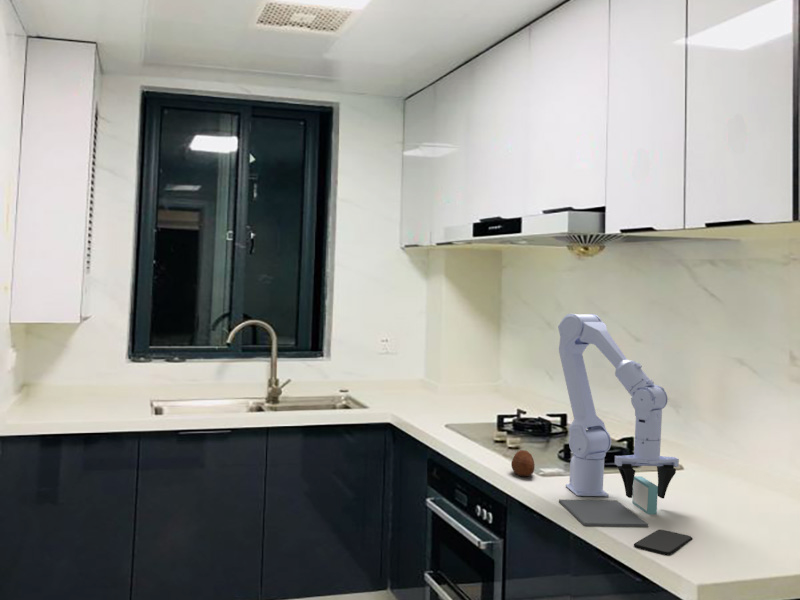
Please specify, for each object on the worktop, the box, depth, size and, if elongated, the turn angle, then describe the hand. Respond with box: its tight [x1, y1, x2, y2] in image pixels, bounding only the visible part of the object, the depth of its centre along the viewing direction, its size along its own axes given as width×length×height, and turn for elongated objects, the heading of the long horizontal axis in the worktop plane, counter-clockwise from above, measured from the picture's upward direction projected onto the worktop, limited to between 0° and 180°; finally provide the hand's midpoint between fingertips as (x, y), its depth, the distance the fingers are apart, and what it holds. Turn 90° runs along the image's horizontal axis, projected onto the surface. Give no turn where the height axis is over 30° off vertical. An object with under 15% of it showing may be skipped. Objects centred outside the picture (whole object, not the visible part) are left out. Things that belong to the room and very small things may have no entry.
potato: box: [510, 449, 535, 477], centre depth 209 cm, size 6×12×6 cm, turn 7°
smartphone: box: [633, 529, 694, 556], centre depth 157 cm, size 7×1×15 cm
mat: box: [558, 499, 649, 528], centre depth 176 cm, size 18×14×1 cm
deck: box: [631, 475, 658, 515], centre depth 182 cm, size 9×2×6 cm, turn 6°
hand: (645, 497), depth 182 cm, fingers open, 7 cm apart
